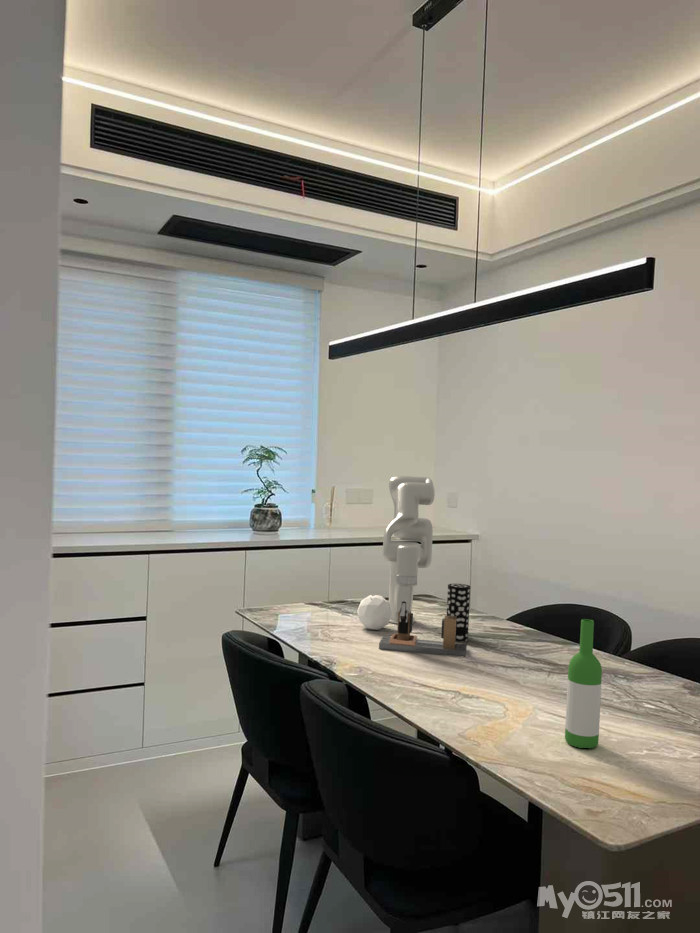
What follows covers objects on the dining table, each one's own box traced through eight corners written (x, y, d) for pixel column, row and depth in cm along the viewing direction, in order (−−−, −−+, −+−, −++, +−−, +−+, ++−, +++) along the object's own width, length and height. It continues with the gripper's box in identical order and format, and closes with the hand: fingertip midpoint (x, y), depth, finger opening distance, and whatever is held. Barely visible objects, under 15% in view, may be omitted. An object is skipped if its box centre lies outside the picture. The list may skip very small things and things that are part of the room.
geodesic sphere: (389, 621, 266) (392, 588, 274) (352, 618, 268) (357, 585, 276) (391, 637, 277) (394, 605, 285) (356, 634, 280) (360, 602, 288)
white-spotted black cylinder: (461, 643, 262) (463, 588, 262) (441, 638, 267) (443, 585, 267) (471, 638, 268) (474, 585, 268) (452, 634, 274) (454, 582, 273)
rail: (382, 641, 259) (384, 608, 258) (466, 649, 253) (468, 615, 253) (378, 648, 249) (380, 614, 249) (465, 657, 243) (467, 622, 243)
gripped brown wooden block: (397, 640, 250) (398, 612, 250) (398, 636, 255) (399, 609, 255) (410, 641, 249) (412, 613, 249) (412, 638, 254) (413, 610, 254)
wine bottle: (591, 738, 176) (597, 617, 176) (603, 751, 168) (609, 624, 168) (560, 737, 176) (566, 616, 175) (570, 750, 168) (577, 623, 168)
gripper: (398, 575, 261) (396, 625, 261) (392, 583, 244) (390, 636, 245) (419, 576, 260) (416, 626, 260) (414, 585, 243) (412, 638, 243)
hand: (404, 630), depth 252 cm, fingers closed on gripped brown wooden block, 4 cm apart
